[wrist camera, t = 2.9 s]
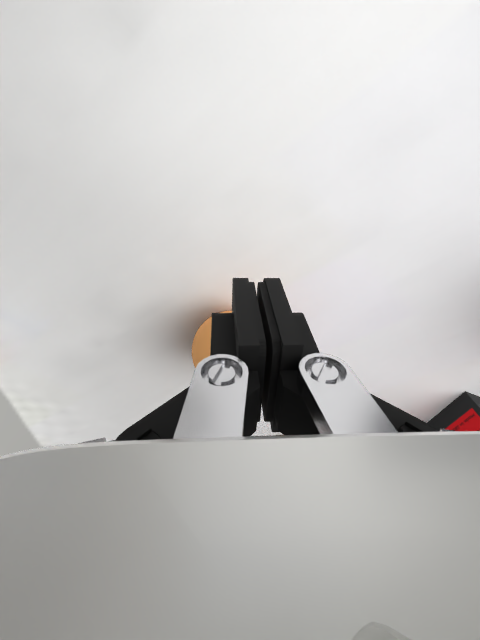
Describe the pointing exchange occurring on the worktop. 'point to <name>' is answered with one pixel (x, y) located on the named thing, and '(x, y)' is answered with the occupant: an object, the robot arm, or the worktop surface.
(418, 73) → the worktop surface
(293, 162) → the worktop surface
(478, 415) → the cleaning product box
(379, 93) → the worktop surface
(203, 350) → the ball
